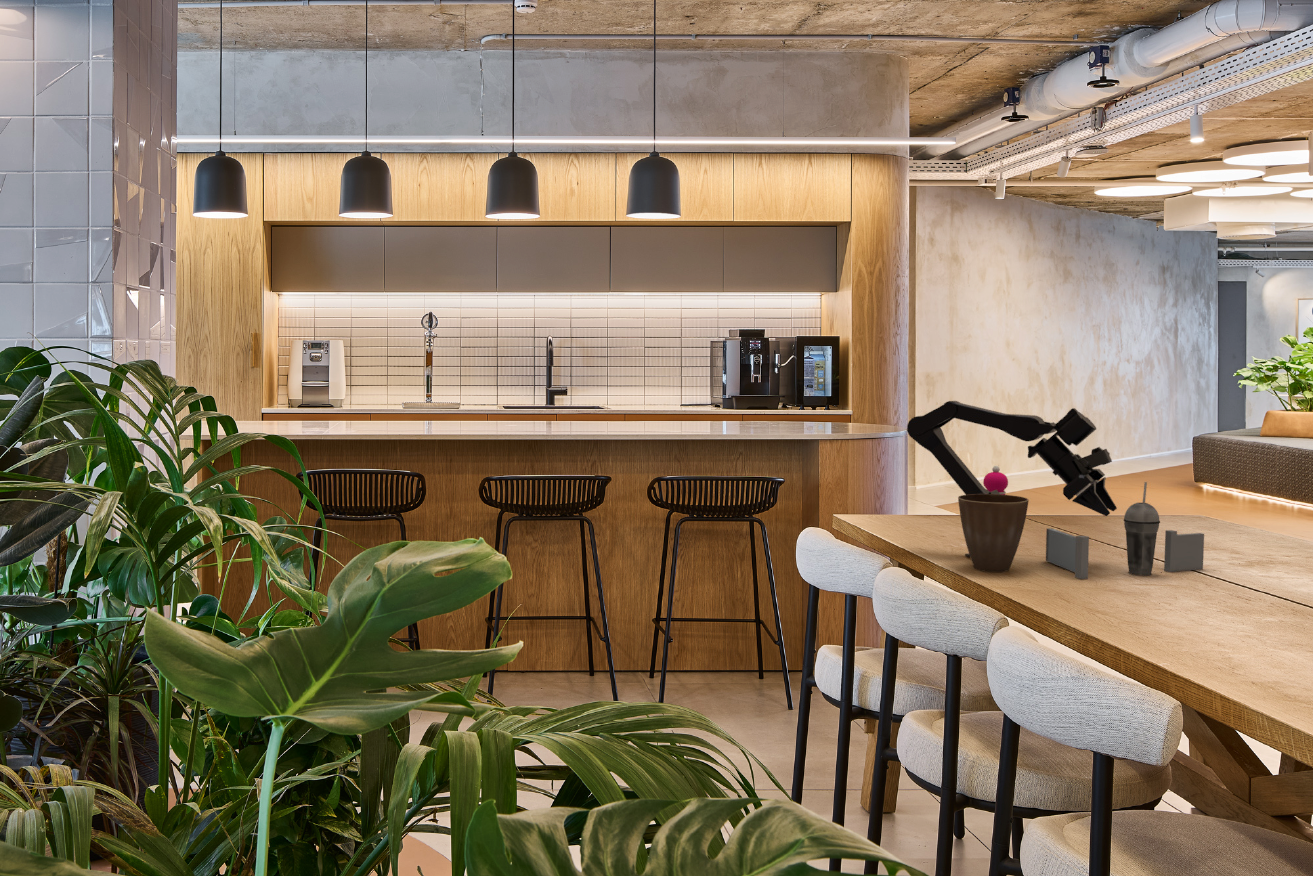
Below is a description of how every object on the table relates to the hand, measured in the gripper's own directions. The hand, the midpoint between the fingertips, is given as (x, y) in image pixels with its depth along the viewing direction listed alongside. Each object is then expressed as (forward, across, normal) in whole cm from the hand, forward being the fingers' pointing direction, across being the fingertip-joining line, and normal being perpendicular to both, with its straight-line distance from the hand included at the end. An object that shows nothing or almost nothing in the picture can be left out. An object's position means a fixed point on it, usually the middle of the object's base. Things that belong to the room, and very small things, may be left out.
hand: (1111, 512), depth 224 cm
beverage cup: (+14, 0, +5) cm, 14 cm away
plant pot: (-6, -13, +25) cm, 29 cm away
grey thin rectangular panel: (+3, -4, +15) cm, 16 cm away
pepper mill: (-12, +22, +31) cm, 40 cm away
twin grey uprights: (+14, 0, +5) cm, 14 cm away
